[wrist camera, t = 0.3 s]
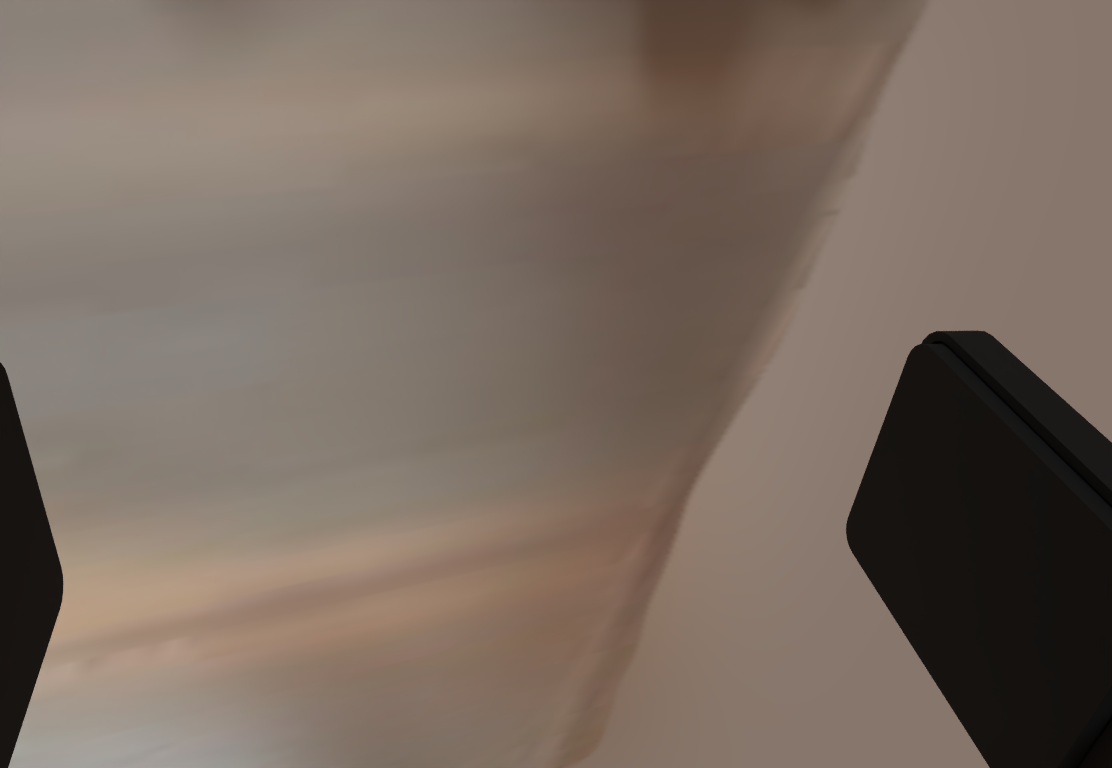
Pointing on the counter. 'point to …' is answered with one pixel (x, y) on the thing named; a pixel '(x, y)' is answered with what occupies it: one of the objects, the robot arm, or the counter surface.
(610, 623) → the counter surface
